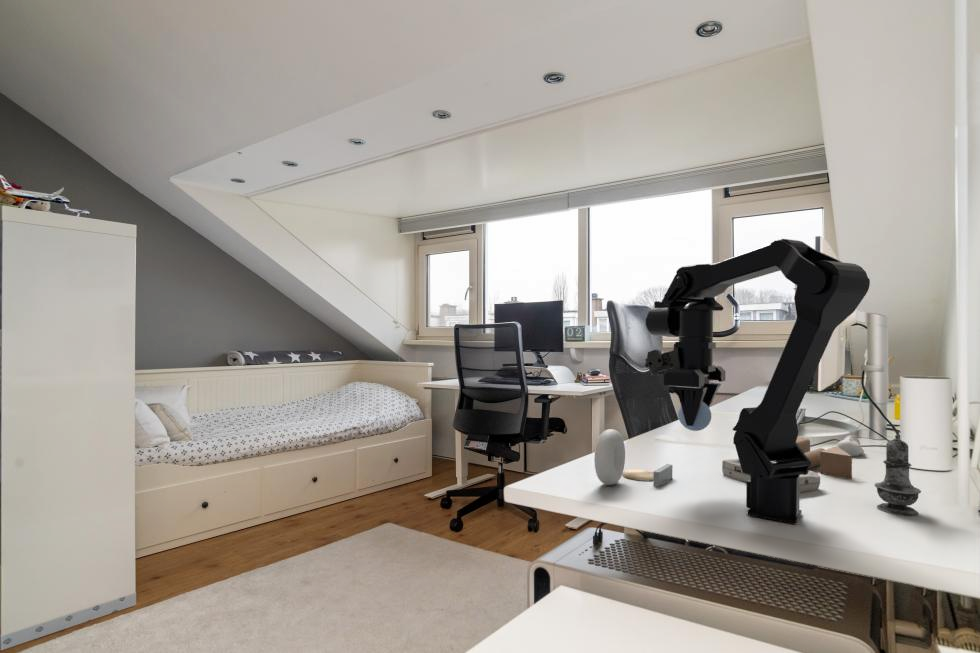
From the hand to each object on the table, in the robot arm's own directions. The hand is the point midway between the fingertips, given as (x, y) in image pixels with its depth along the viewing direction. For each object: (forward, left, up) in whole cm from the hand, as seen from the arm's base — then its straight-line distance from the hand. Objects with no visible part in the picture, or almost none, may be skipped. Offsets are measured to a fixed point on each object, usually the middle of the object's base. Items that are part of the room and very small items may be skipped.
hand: (694, 423), depth 97 cm
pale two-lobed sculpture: (-21, -54, -12) cm, 59 cm away
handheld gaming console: (-10, -13, -12) cm, 20 cm away
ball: (0, 0, +1) cm, 2 cm away
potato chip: (+10, -1, -11) cm, 15 cm away
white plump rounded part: (+13, +8, -12) cm, 19 cm away
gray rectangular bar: (+6, 0, -11) cm, 13 cm away
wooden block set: (-16, -35, -12) cm, 41 cm away
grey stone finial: (-29, -7, -12) cm, 32 cm away
